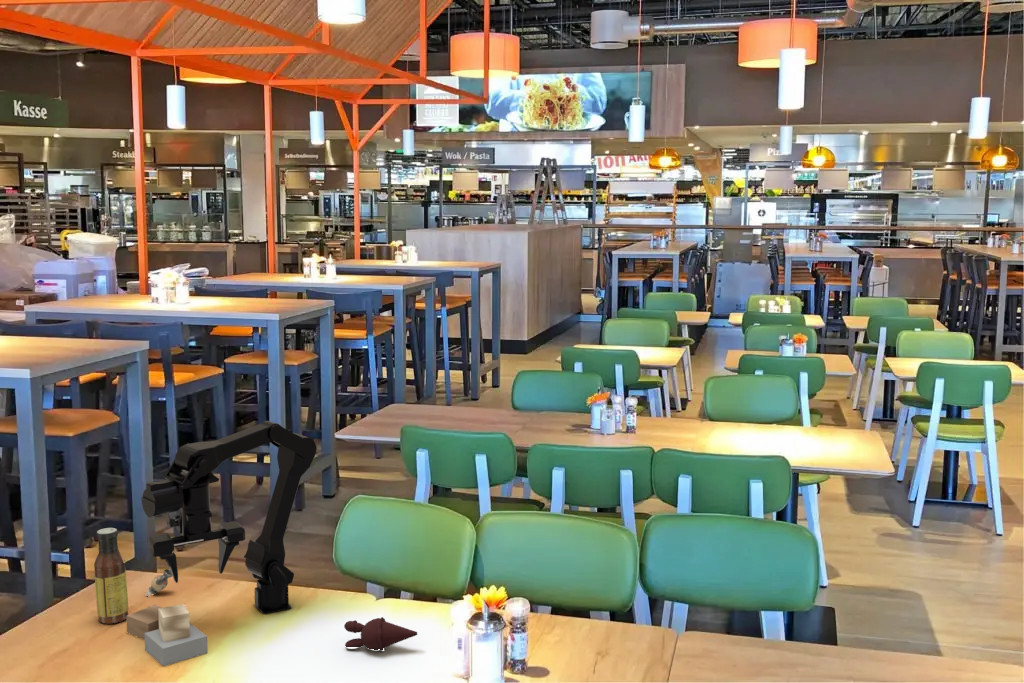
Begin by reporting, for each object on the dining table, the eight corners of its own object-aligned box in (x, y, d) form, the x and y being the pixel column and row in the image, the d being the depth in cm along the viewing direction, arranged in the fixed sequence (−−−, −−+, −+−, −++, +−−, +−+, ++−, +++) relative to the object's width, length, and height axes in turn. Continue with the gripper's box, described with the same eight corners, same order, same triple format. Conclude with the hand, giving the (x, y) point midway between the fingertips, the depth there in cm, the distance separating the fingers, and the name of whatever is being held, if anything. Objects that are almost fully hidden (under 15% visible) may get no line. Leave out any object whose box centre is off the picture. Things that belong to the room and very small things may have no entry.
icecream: (419, 612, 207) (348, 615, 208) (413, 618, 200) (339, 621, 201) (420, 647, 207) (349, 649, 207) (414, 654, 199) (340, 657, 200)
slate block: (187, 639, 207) (187, 621, 207) (207, 654, 201) (206, 636, 200) (145, 651, 201) (144, 633, 201) (163, 668, 195) (163, 648, 194)
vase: (178, 590, 232) (177, 566, 231) (167, 601, 227) (166, 576, 225) (156, 588, 233) (154, 564, 231) (144, 599, 227) (143, 574, 226)
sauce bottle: (134, 614, 218) (131, 526, 215) (120, 626, 212) (117, 536, 209) (105, 612, 219) (102, 524, 216) (90, 624, 213) (87, 534, 210)
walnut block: (155, 622, 215) (154, 604, 214) (176, 630, 211) (176, 612, 211) (127, 633, 209) (126, 615, 209) (148, 642, 205) (148, 624, 205)
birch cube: (184, 627, 204) (184, 604, 203) (189, 637, 200) (189, 613, 199) (159, 632, 201) (158, 608, 201) (163, 641, 197) (162, 617, 196)
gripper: (228, 488, 218) (231, 556, 221) (139, 502, 208) (143, 573, 211) (244, 502, 209) (247, 573, 212) (152, 517, 199) (156, 592, 202)
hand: (198, 577), depth 209 cm, fingers open, 9 cm apart
